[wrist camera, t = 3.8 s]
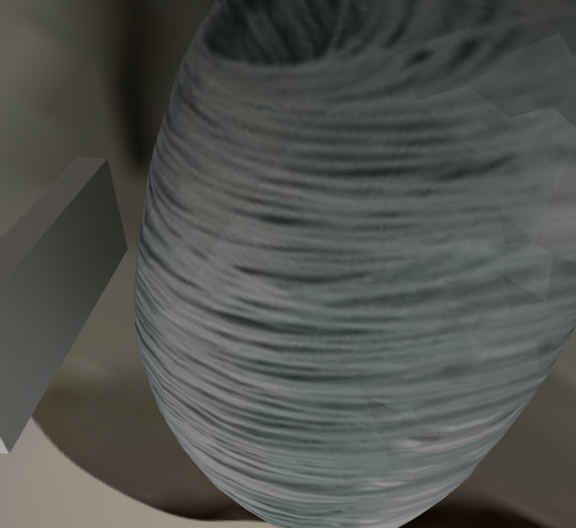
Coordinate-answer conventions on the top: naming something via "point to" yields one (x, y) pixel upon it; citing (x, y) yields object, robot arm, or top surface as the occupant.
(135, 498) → the top surface
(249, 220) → the grey streaked egg shape
